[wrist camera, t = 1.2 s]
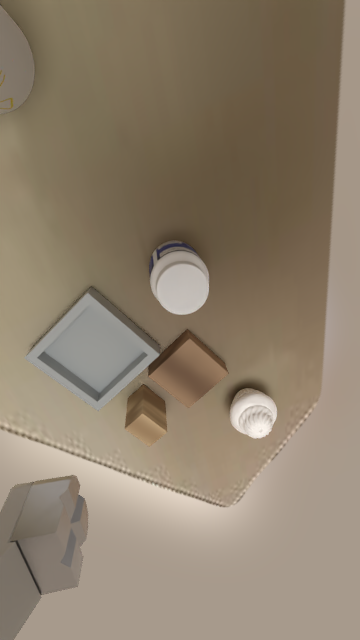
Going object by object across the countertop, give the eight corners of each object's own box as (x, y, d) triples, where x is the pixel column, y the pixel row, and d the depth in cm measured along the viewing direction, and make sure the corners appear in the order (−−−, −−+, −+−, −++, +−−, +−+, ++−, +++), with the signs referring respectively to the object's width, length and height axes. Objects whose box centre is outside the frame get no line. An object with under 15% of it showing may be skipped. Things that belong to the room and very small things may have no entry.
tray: (91, 286, 38) (87, 292, 36) (159, 345, 42) (160, 354, 39) (31, 348, 40) (24, 358, 38) (100, 399, 44) (98, 411, 42)
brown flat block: (187, 328, 42) (189, 338, 39) (223, 361, 44) (228, 373, 41) (148, 364, 43) (148, 376, 40) (186, 394, 45) (188, 408, 43)
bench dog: (143, 384, 44) (142, 413, 38) (165, 401, 45) (167, 431, 40) (127, 398, 44) (124, 428, 39) (149, 414, 46) (149, 446, 40)
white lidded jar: (215, 406, 46) (226, 442, 40) (238, 371, 44) (254, 404, 38) (252, 421, 48) (268, 458, 41) (276, 388, 46) (297, 422, 39)
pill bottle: (181, 297, 40) (191, 331, 30) (140, 272, 38) (137, 301, 29) (208, 256, 38) (227, 279, 29) (166, 229, 37) (172, 244, 27)
